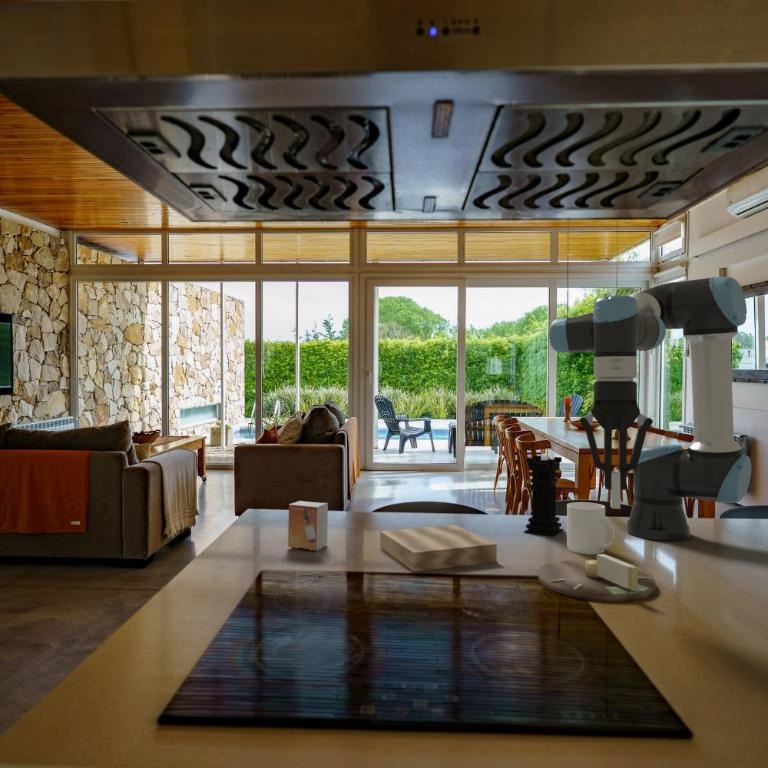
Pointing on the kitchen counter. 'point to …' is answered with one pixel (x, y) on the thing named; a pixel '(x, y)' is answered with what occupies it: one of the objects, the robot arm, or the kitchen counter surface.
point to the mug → (587, 528)
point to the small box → (308, 525)
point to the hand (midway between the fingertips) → (615, 506)
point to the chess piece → (543, 497)
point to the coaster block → (437, 547)
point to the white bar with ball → (613, 571)
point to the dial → (591, 583)
